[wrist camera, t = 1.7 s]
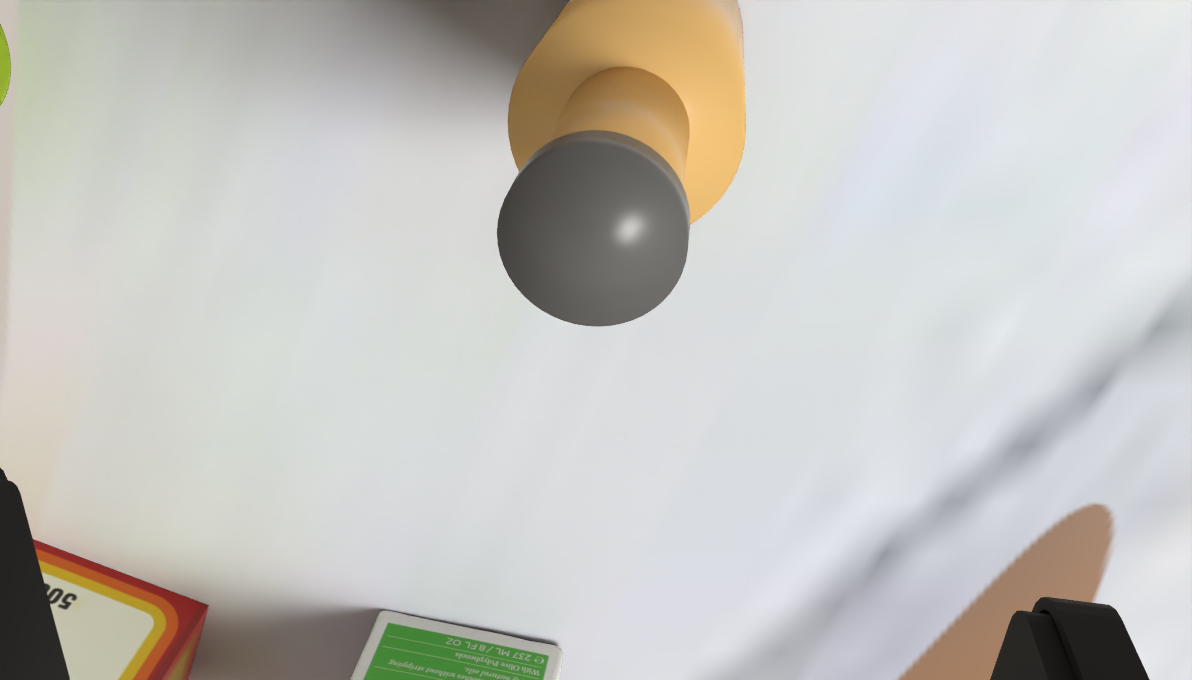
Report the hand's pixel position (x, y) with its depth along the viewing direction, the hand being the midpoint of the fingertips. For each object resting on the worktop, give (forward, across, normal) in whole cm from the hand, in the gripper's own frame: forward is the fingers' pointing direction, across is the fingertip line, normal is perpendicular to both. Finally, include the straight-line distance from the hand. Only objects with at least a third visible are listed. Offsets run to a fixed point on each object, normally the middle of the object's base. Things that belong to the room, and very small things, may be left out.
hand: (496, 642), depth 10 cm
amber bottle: (+24, 0, -1) cm, 24 cm away
